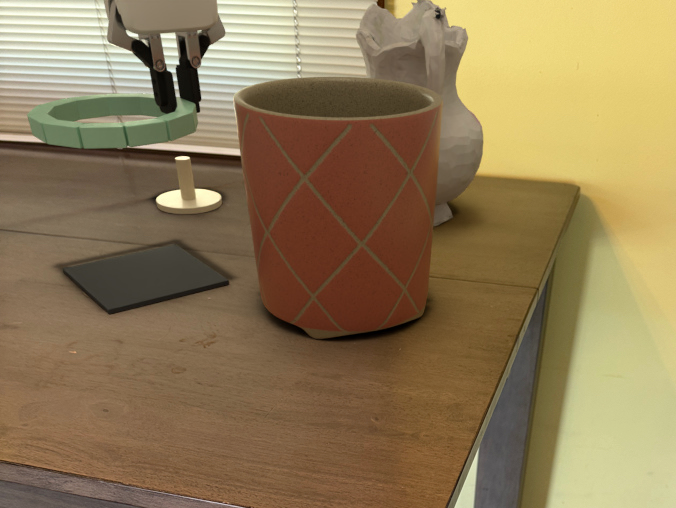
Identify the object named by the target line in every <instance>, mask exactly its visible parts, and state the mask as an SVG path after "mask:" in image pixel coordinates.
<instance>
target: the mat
mask: <svg viewBox="0 0 676 508" xmlns="http://www.w3.org/2000/svg"><path fill="white" fill-rule="evenodd" d="M62 273H63V274H65V275H66V277H68V278H69V279H70V280H71V281H72V282H73V283H74V284H75V285H77V286H78V287H79V288H80V289H81V290H82V291H83V292H84V293H85V294H86V295H87V296H89V297H90V298H91V299H92V301H94V302H95V303H96V304H97V305H98V306H99V307H100V308H102V310H103V311H104V312H106V313H107V314H108V315H112V314H115V313H116V314H117V313H119V312H125V311H128V310H132V309H135V308H140V307H144V306H148V305H153V304H157V303H160V302H164V301H169V300H172V299H176V298H181V297H184V296H188V295H192V294H196V293H201V292H204V291H208V290H213V289H216V288H221V287H225V286H227V285H228V286H229V285H230V280H229V279H227V278H226V277H225V276H223V275H221V274H220V273H219V272H217V271H216V270H215V269H213V268H212V267H210V266H209V265H207V264H205V262H203V261H201V260H199V259H198V258H197V257H195V256H194V255H192V254H191V253H189V251H186V250H185V249H183V248H182V247H181V246H179V245H177V244H176V243H175V244H169V245H165V246H160V247H156V248H150V249H146V250H141V251H137V252H132V253H127V254H123V255H118V256H114V257H108V258H103V259H100V260H95V261H90V262H85V263H80V264H76V265H71V266H66V267H63V268H62Z"/></svg>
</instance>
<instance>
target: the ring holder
mask: <svg viewBox="0 0 676 508" xmlns="http://www.w3.org/2000/svg"><path fill="white" fill-rule="evenodd" d="M174 161H175V166H176V167H175V168H176V172H177V179H178V185H179V186H178V187H179V189H176V190H175V189H174V190H171V191H167V192H164V193H161V194H159V195H158V196H157V197H156V199H155V203H156V207H157V209H158V210H160V211H162V212H165V213H169V214H174V215H196V214H197V215H198V214H203V213H208V212H211V211H214V210H217V209H219V208H220V207H221V206H222V204H223V200H222V195H221V194H220V193H219V192H216V191H214V190H210V189H204V188H196V187H195V181H194V175H193V168H192V162H191V157H190V156H185V155H180V156H176V157H175V158H174Z"/></svg>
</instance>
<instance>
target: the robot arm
mask: <svg viewBox="0 0 676 508" xmlns="http://www.w3.org/2000/svg"><path fill="white" fill-rule="evenodd" d="M103 4H104V10H105V13H106V17H107V20H108V25H107V31H106V40H107V42H108V43H109V45H112V46H114V47H117V48H120V49H123V50H126V51H128V52H130V53H131V54H133V55H134V57H136V58H137V59H138V60H139V61H140V62H141V63H143V65H144V66H145V67H146V69H147V68H148V70H149V76H150V81H151V87H152V94H154V98H155V102H156V104H157V105H158V106H159V107H160V110H161V112H163V113H165V114H169V113H172V112H175V110H176V108H177V100H176V97H177V93H176V88H175V82H174V76H173V73H172V72H171V71H170V70H168V67H167V63H166V59H165V54H164V47H163V42H162V34H174V33H175V35H174V36H175V41H176V48H177V56H178V64H176V66H175V76H176V81H177V88H178V93H179V94H178V95H179V97H180V98H182V99H185V100H187V101H190V102H193V103H195V105H196V111H197V114H199V113H201V106H200V102H202V91H201V84H200V79H199V70H198V69H199V68H200V67H201V66H202V59H203V58H204V56H205V54H206V53H207V51H208V49H209V48H210V46H211V45H214V44H215V43H217V42H219V41H220V40H221V39H223V38H224V37H225V36H226V29H225V26H224V24H223V21H222V19H221V17H220V15H219V9H218V8H219V7H218V0H103ZM127 31H128V32H130V33H132V34H136V35H137V36H138V38H135V37H133V36H130V35H129V34H128V33H127ZM198 31H199V32H198Z"/></svg>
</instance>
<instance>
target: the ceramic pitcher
mask: <svg viewBox="0 0 676 508" xmlns="http://www.w3.org/2000/svg"><path fill="white" fill-rule="evenodd" d="M410 3H411V5H412V8H411V9H410V10H409V11H408V12H407V13H406V14H404V16H403V17H401V18H400V17H397V18H396V17H395V15H394V14H392V12H391V11H390V10H389V9H387V8H382V7H381V6H379V5H377V4H376V3H371V4H370V5H369V6H368V7H367V8H366V10H365V11H364V12H363V15H362V17H361V19H360V21H359V27H358V28H357V29H356V33H355V38H356V42H357V45H358V46H359V49H360V52H361V55H362V57H363V61H364V67H365V73H366V78H373V79H383V80H391V81H398V82H404V83H409V84H414V85H418V86H421V87H425V88H427V89H430V90H432V91H434V92H436V93H437V94H439V95H440V96H441V97H442V100H443V108H442V121H441V135H440V149H439V163H438V177H437V189H436V201H435V212H434V224H433V227H437V226H440V225H441V224H443V223H445V222H447V221H449V220H451V219H453V218H454V215H453V213H452V210H451V208H450V207H449V205H448V203H450V202H452V201H454V200H455V199H457V198H458V197H459V196H460V195H462V194H463V193H464V192H465V191H466V190H467V188H468V187H469V186H470V185H471V184H472V182H473V181H474V178H475V176H476V174H477V173H478V171H479V169H480V165H481V162H482V158H483V155H484V131H483V126H482V124H481V121H480V120H479V119H478V118H477V116H476V115H475V113H474V112H472V111H471V110H469V108H468V107H467V106H466V105H465V104H464V103H463V101H462V100H461V98H460V97H459V94H458V90H457V75H458V70H459V66H460V64H461V62H462V61H461V60H462V58H463V56H464V53H465V52H466V48H467V45H468V41H469V36H468V32H467V29H466V27H464V28H463V27H462V26H460V25H459V26H458V25H451V26H450V24H449V21H448V18H447V14H446V10H447V8H446V7H444V8H442V7H440V5H438V4H435V3H434V2H433V1H432V0H416V2H412V1H410Z"/></svg>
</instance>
